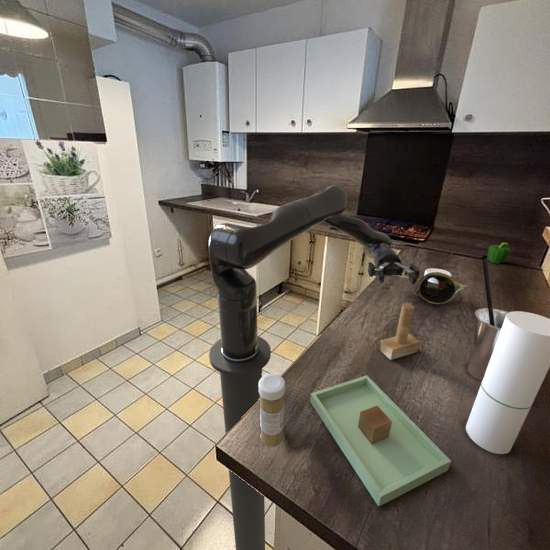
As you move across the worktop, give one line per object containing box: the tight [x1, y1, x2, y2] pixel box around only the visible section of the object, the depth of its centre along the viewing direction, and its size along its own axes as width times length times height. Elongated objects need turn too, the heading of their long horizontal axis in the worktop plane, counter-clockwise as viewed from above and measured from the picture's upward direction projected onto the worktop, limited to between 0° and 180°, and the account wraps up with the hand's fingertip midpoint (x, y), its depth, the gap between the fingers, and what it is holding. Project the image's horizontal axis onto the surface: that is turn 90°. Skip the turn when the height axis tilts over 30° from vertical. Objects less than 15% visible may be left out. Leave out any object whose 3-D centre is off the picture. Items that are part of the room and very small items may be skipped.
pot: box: [412, 272, 470, 305], centre depth 106 cm, size 17×11×18 cm
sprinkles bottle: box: [259, 373, 286, 448], centre depth 52 cm, size 5×5×14 cm
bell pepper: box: [487, 242, 511, 265], centre depth 140 cm, size 8×8×10 cm
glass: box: [466, 255, 510, 382], centre depth 64 cm, size 11×11×30 cm
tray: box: [309, 374, 452, 507], centre depth 55 cm, size 22×15×2 cm
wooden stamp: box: [379, 302, 421, 361], centre depth 75 cm, size 4×9×14 cm, turn 112°
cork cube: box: [358, 406, 392, 444], centre depth 54 cm, size 4×4×4 cm
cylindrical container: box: [465, 310, 550, 455], centre depth 50 cm, size 7×7×25 cm
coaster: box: [423, 267, 453, 285], centre depth 121 cm, size 10×10×4 cm
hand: (398, 280), depth 82 cm, fingers open, 8 cm apart
